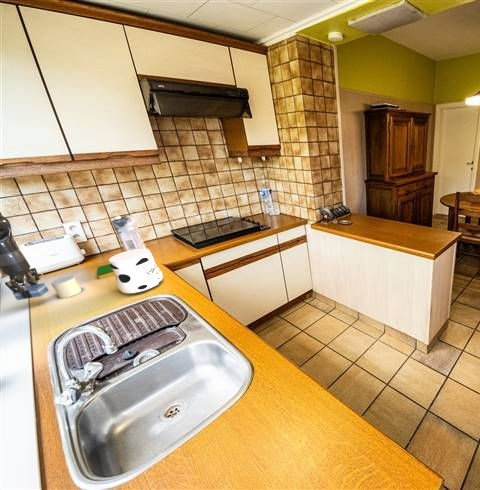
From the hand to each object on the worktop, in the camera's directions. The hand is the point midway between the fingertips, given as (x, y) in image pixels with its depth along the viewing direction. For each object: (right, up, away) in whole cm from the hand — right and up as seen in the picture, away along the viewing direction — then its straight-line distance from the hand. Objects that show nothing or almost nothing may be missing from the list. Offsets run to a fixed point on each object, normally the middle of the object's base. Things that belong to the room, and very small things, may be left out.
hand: (33, 294), depth 120 cm
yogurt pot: (+6, -2, +10) cm, 12 cm away
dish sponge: (+5, +7, +30) cm, 31 cm away
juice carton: (+7, +15, +48) cm, 51 cm away
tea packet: (0, 0, 0) cm, 0 cm away
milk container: (+40, +1, +13) cm, 42 cm away
